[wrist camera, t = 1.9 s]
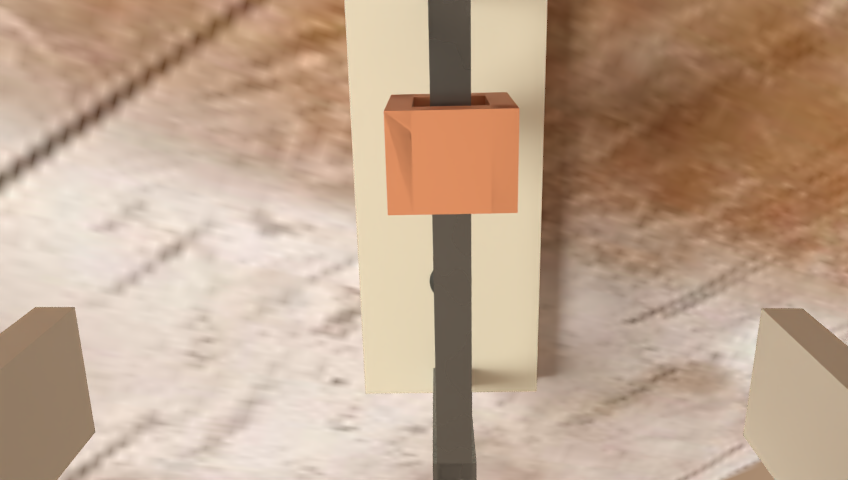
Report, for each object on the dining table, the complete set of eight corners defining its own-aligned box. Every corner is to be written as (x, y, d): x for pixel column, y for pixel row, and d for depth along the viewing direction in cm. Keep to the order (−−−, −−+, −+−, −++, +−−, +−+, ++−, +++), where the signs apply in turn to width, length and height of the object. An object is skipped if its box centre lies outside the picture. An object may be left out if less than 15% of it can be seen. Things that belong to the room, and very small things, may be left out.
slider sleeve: (397, 81, 37) (383, 111, 27) (497, 79, 37) (519, 108, 27) (399, 160, 38) (387, 215, 28) (496, 158, 38) (517, 212, 28)
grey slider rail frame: (424, -47, 36) (421, -62, 27) (465, -48, 35) (475, -63, 27) (433, 386, 43) (433, 485, 34) (467, 385, 43) (476, 485, 34)
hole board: (342, -108, 36) (338, -113, 35) (545, -113, 36) (550, -119, 34) (367, 380, 45) (365, 394, 43) (532, 377, 44) (536, 392, 43)
